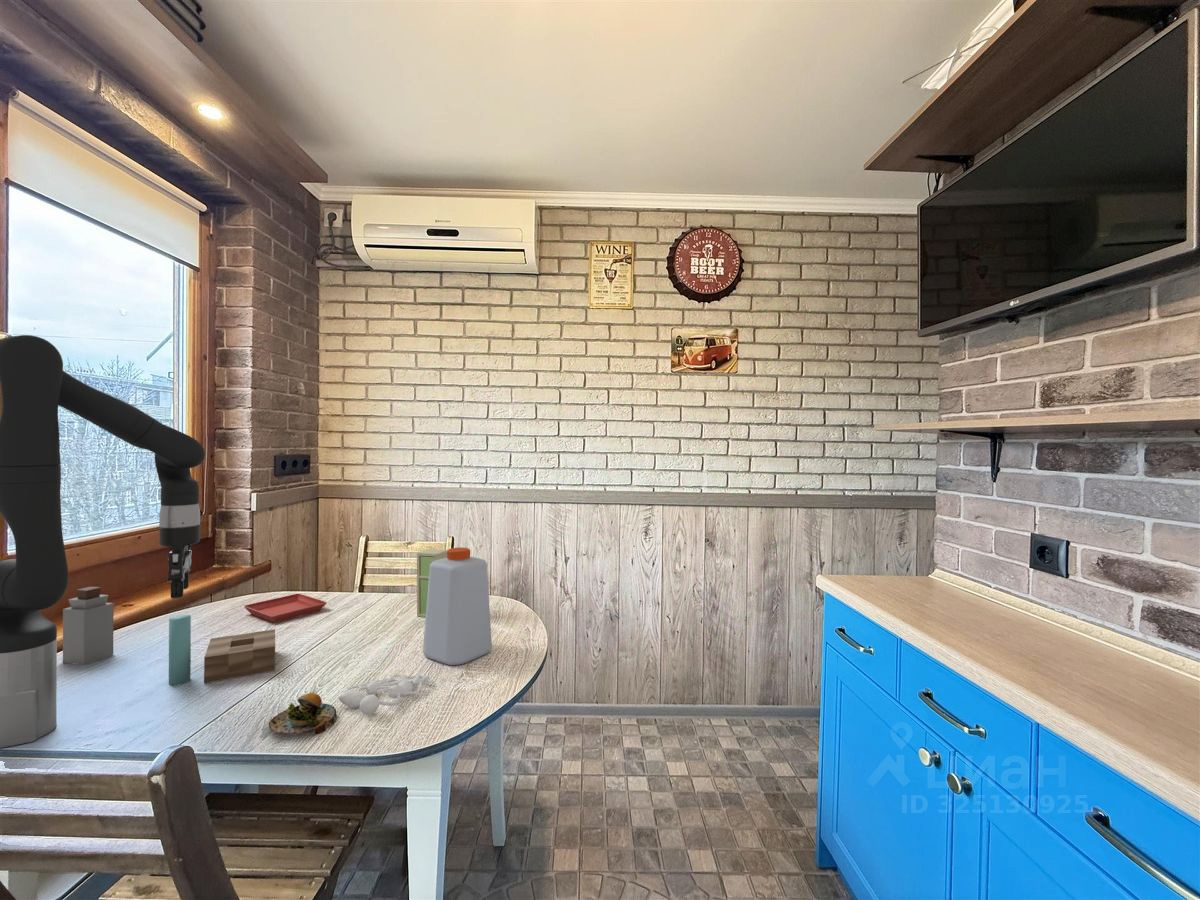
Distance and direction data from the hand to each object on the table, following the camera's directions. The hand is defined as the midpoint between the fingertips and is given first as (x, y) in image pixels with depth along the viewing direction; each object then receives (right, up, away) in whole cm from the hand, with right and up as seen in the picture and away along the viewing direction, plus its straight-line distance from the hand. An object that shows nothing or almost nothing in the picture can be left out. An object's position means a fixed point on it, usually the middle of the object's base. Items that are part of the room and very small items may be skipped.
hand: (179, 593), depth 125 cm
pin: (0, -21, 0) cm, 21 cm away
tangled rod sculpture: (+50, -22, -6) cm, 55 cm away
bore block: (+9, -21, +9) cm, 24 cm away
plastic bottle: (+60, -22, +19) cm, 66 cm away
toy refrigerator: (+43, -21, +51) cm, 70 cm away
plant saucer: (-6, -21, +52) cm, 56 cm away
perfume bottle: (-33, -20, +13) cm, 41 cm away
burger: (+39, -22, -18) cm, 48 cm away
